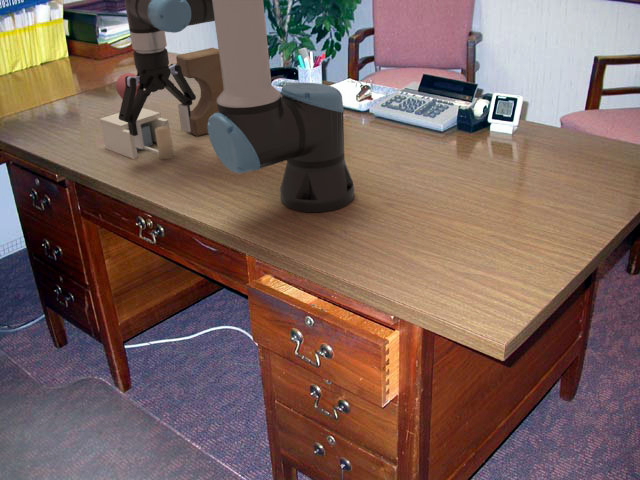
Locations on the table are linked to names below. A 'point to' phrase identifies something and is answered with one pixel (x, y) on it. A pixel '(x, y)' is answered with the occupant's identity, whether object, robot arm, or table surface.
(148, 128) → the tethered block
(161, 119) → the shelf lane
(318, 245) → the table surface
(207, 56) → the decorative block
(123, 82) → the light bulb
